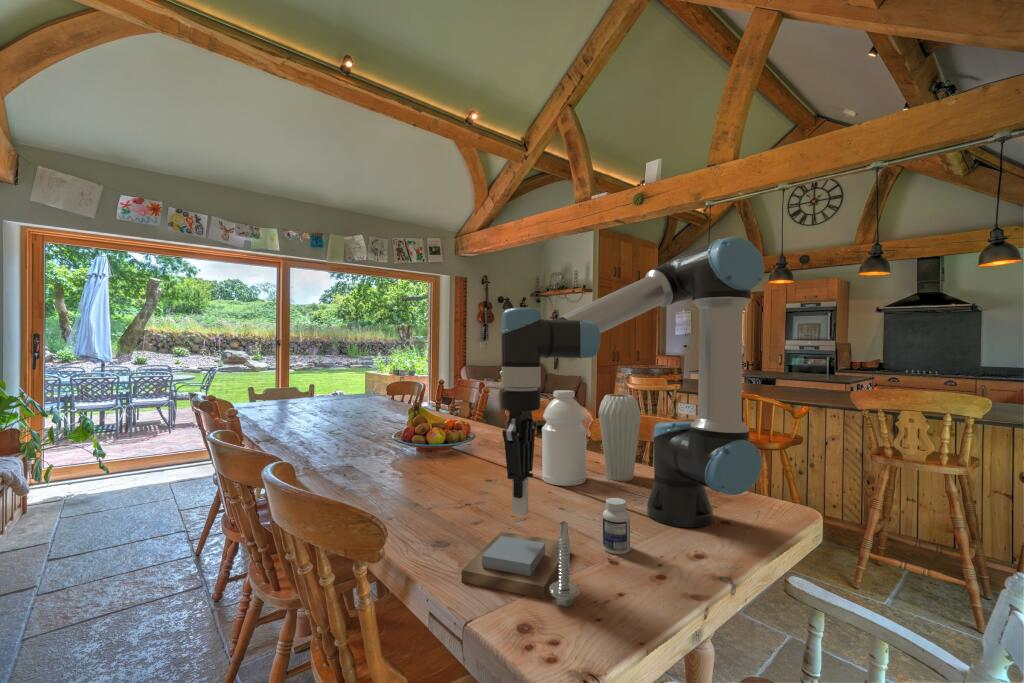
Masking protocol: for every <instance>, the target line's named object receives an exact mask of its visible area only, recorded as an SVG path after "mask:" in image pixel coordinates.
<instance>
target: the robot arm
mask: <svg viewBox="0 0 1024 683" xmlns="http://www.w3.org/2000/svg"><path fill="white" fill-rule="evenodd" d="M764 273H765V262H764V259H763V256H762V254H761V252H760V250H759V249H758V247H755V245H754V244H753V242H752V241H750V240H748V239H747V238H743V237H742V236H730V237H725V238H718V239H716V240H714V241H712V242H709V243H706V244H703V245H701V246H698V247H695V248H692V249H688V250H685V251H683V252H681V253H680V254H678V255H676V256H674V257H673V258H671V259H670V260H668V261H666V262H664V263H663V264H661V265H660V266H659V265H658V267H655V268H653V269H651V270H649V271H647V273H646V274H645V277H644V278H641V279H639V280H637V281H635V282H632V283H630V284H629V285H626V286H624V287H621V288H619V289H617V290H616V291H612V292H611V293H608V294H606V295H604V296H603V297H600V298H597V299H596V300H593V301H591V302H589V303H587V304H585V305H582V306H581V307H578V308H576V309H574V310H572V311H569V312H568V313H565V314H562V315H561V316H560V317H557V318H554V319H545V318H542V316H541V310H539V308H535V307H533V308H531V307H511V308H507V309H505V310H504V312H503V313H502V315H501V316H502V319H501V329H500V330H501V331H500V336H501V338H500V339H501V371H499V376H501V387H502V388H504V389H503V390H501V392H500V400H501V401H500V403H501V404H500V407H501V409H502V410H504V411H508V413H509V414H508V419H507V429H502V437H503V438H502V439H503V441H504V451H505V452H504V453H505V461H506V462H505V464H506V472H507V473H506V474H507V479H508V480H512V483H511V484H512V485H511V487H512V488H511V489H512V491H511V494H512V495H511V498H512V501H511V503H512V504H511V507H512V508H511V509H512V510H511V511H512V514H514V515H520V516H521V515H522V516H526V515H527V514H529V478H533V477H534V473H531V472H533V469H534V468H533V464H534V453H535V440H536V439H535V438H536V431H537V430H536V429H537V427H538V426H537V425H538V423H537V421H535V420H534V419H533V412H535V411H538V410H539V409H540V408H541V391H540V390H539V389H538V388H540V387H541V386H542V382H541V378H542V377H541V367H542V366H541V364H542V363H541V359H547V358H548V359H549V358H551V359H553V358H554V359H580V360H582V359H587V358H588V359H589V358H593V357H595V356H596V355H597V354H598V352H599V350H600V347H601V334H602V333H604V332H606V331H608V330H610V329H612V328H615V327H616V326H618V325H621V324H623V323H626V322H627V321H629V320H631V319H634V318H635V317H637V316H639V315H642V314H644V313H646V312H648V311H651V310H652V309H654V308H655V309H656V308H657V307H662V308H667V307H668V306H671V305H673V304H676V303H679V302H682V301H683V302H684V301H688V300H692V304H693V305H694V306H695V307H696V308H697V309H698V311H699V318H698V319H699V325H698V328H699V332H698V340H699V341H698V385H697V386H698V388H697V390H698V392H697V394H698V395H697V397H698V398H697V418H696V419H695V420H694V421H665V422H658V423H656V424H655V425H654V429H653V438H652V439H653V467H654V468H653V470H654V471H653V472H654V473H653V474H654V478H653V479H654V481H653V485H652V489H651V491H650V494H649V497H648V500H647V504H646V514H647V515H648V517H650V518H651V519H652V520H654V521H657V522H660V523H661V524H666V525H669V526H673V527H680V528H704V527H707V526H710V525H712V523H713V522H714V510H713V508H712V505H711V502H710V499H709V496H708V492H707V489H706V487H707V488H709V489H710V490H711V491H713V492H716V493H722V494H725V495H728V496H737V495H742V494H744V493H745V492H747V491H749V490H750V489H751V488H752V486H753V485H755V484H756V483H757V481H758V480H759V479H760V476H761V473H762V468H763V459H762V454H761V452H760V450H758V448H757V446H756V445H755V444H753V443H752V442H751V441H750V428H749V427H748V426H747V425H746V424H745V423H744V422H743V420H742V400H743V399H742V398H743V394H742V393H743V392H742V390H743V388H742V387H743V320H744V318H743V317H744V315H743V314H744V312H743V311H744V308H745V307H746V306H747V305H748V304H749V303H751V302H752V290H753V289H755V287H757V286H758V285H759V284H760V282H761V281H763V280H762V279H763V278H764Z"/></svg>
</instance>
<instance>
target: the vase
mask: <svg viewBox="0 0 1024 683" xmlns="http://www.w3.org/2000/svg"><path fill="white" fill-rule="evenodd" d="M598 409H599V410H598V419H599V427H600V434H601V441H602V442H601V443H602V447H603V448H602V450H603V457H604V466H605V472H606V478H608V479H609V480H611V481H618V482H619V481H620V482H627V481H631V480H633V479H634V471H635V463H636V457H637V449H638V441H639V434H640V433H639V432H640V425H641V424H640V423H641V418H642V414H641V410H640V406H639V402H638V401H637V399H636V398H635V396H634V395H631V394H619V393H618V394H616V393H615V394H614V393H613V394H611V393H609V394H606V395H604V397H603V399H602V400H601V402H600V405H599V408H598Z"/></svg>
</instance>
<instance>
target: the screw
mask: <svg viewBox="0 0 1024 683" xmlns="http://www.w3.org/2000/svg"><path fill="white" fill-rule="evenodd" d="M558 541H559V542H558V543H559V546H558V547H559V550H558V551H559V553H558V554H559V557H558V558H559V561H558V562H559V564H558V566H559V568H558V569H559V572H558V574H557V576H558V579H557V581H554V582H553V583H552V584H551V585H550V587H549V591H548V592H549V594H550V595H551V596H552V597H554V598H555V601H556V603H557V606H561V607H565V608H567V607H569V606H571V605H573V604H574V603H573V602H574V599H575V598H577V597H578V596H579V595H580V588H579V586H577V585H576V584H575V583H574V582H572V581H571V576H570V575H571V574H570V573H571V570H570V569H571V566H570V565H571V563H570V561H571V559H570V557H571V555H570V554H571V550H570V549H571V548H569V546H570V544H571V543H570V536H569V523H568V522H567V521H565V520H562V521H561V522H559V538H558ZM569 543H570V544H569ZM570 547H571V546H570ZM569 550H570V551H569Z"/></svg>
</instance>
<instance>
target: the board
mask: <svg viewBox="0 0 1024 683" xmlns="http://www.w3.org/2000/svg"><path fill="white" fill-rule="evenodd" d="M501 536H504V537H511V538H517V539H523V540H529V541H536V542H542V543H545V555H544V556H543V558H542V559H541V561H540V562H539V564H538V565H537V567H536V568H535V570H534V571H533V573H532V574H531V576H526V575H521V574H516V573H510V572H505V571H500V570H495V569H489V568H484V567H482V555H483V554H484V553H485V552H486V551H487V550H488V549H489V548H490V547H491V546H492V545H493V544H494V543H495V542H496V541H497V540H498V539H499V538H500V537H501ZM558 542H559V539H556V540H555V539H551V538H545V537H539V536H538V537H537V536H532V535H524V534H518V533H513V532H506V531H500V532H498V533H497V534H496V536H495V537H493V538H492V539H491V541H489V543H488V544H486V545H485V546H484V548H482V549H481V551H480V552H479V553H477V554H476V555H475V556H474V557H473V558H472V559H471V560H470V561H469V563H467V564H466V565H465V566H464V567H463V568H462V569H461V583H465V584H470V585H475V586H481V587H484V588H490V589H495V590H500V591H505V592H510V593H512V594H513V593H514V594H519V595H523V596H528V597H533V598H538V599H543V600H544V599H545V598H546V596H547V594H548V592H549V587H550V585H551V584H553V583H554V582H555V580H556V578H557V576H558V575H559V573H558V572H559V569H558V568H559V566H558V564H559V562H558V561H559V558H558V557H559V554H558V553H559V551H558V550H559V547H558V546H559V543H558ZM569 544H571V543H569ZM570 547H571V546H569V548H570ZM570 549H571V548H570ZM569 551H570V552H571V550H569Z"/></svg>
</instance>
